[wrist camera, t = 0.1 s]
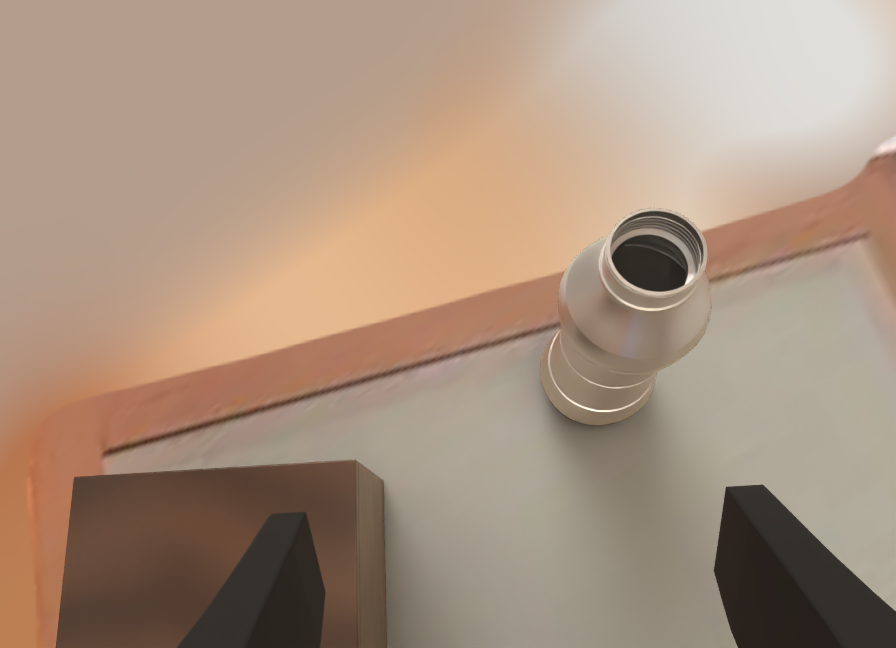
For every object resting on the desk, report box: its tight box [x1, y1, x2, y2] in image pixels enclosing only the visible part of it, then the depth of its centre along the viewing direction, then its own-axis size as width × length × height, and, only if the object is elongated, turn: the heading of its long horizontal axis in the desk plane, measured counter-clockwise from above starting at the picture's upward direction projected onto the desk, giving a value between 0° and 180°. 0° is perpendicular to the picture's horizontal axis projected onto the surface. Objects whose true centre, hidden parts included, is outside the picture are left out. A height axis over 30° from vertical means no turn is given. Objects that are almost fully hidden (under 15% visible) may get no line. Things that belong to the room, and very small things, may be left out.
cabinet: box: [56, 460, 387, 648], centre depth 39 cm, size 14×14×9 cm
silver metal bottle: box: [540, 208, 712, 425], centre depth 37 cm, size 6×7×20 cm
